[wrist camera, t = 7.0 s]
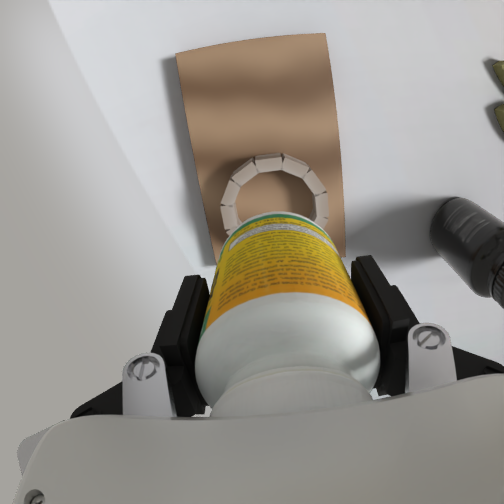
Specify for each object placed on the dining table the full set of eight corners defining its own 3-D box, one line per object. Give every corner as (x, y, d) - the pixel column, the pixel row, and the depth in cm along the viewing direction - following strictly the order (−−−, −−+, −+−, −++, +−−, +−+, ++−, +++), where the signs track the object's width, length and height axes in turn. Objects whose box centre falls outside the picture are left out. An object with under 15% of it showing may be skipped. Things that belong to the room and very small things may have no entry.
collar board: (179, 55, 23) (168, 50, 20) (321, 36, 22) (330, 28, 19) (220, 264, 32) (215, 283, 29) (342, 249, 31) (350, 267, 28)
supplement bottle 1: (342, 298, 15) (399, 476, 7) (237, 320, 16) (222, 503, 8) (325, 194, 13) (425, 361, 5) (203, 223, 14) (131, 411, 5)
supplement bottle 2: (427, 260, 31) (482, 330, 20) (428, 201, 28) (498, 257, 17) (475, 248, 30) (536, 308, 20) (479, 192, 27) (553, 240, 17)
